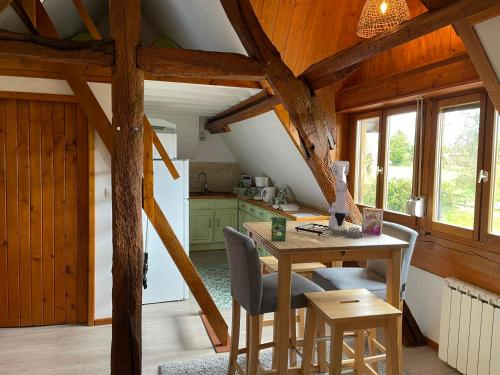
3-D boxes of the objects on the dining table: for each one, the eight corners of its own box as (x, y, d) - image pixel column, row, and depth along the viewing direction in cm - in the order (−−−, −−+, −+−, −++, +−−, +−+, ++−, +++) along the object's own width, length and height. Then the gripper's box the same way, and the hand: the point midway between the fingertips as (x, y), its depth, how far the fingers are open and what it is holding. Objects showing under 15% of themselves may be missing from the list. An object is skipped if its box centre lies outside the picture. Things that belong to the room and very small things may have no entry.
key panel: (328, 237, 229) (329, 229, 228) (335, 234, 236) (336, 227, 235) (358, 241, 217) (358, 233, 217) (364, 239, 224) (364, 231, 224)
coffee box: (285, 240, 219) (286, 216, 218) (286, 241, 216) (286, 217, 215) (271, 239, 219) (271, 216, 218) (271, 240, 216) (271, 217, 215)
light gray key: (348, 232, 223) (349, 227, 223) (352, 231, 226) (352, 226, 226) (356, 233, 220) (356, 228, 220) (359, 232, 224) (359, 227, 223)
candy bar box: (360, 235, 234) (362, 208, 233) (363, 234, 239) (364, 207, 237) (380, 237, 229) (381, 210, 227) (382, 236, 233) (383, 209, 231)
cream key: (334, 231, 229) (334, 226, 228) (337, 230, 232) (338, 225, 232) (341, 232, 226) (341, 227, 226) (344, 231, 229) (344, 226, 229)
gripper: (326, 202, 229) (325, 225, 230) (349, 204, 220) (348, 228, 221) (331, 201, 234) (330, 223, 236) (354, 203, 225) (353, 227, 227)
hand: (339, 226), depth 229 cm, fingers closed, pressing on cream key
